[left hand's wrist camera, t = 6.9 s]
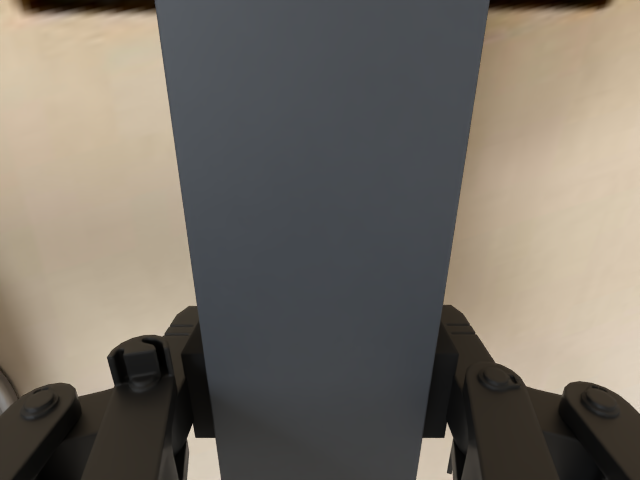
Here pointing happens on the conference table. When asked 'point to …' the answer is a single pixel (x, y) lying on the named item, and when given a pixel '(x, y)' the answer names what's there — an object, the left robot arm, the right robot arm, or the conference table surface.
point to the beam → (320, 218)
